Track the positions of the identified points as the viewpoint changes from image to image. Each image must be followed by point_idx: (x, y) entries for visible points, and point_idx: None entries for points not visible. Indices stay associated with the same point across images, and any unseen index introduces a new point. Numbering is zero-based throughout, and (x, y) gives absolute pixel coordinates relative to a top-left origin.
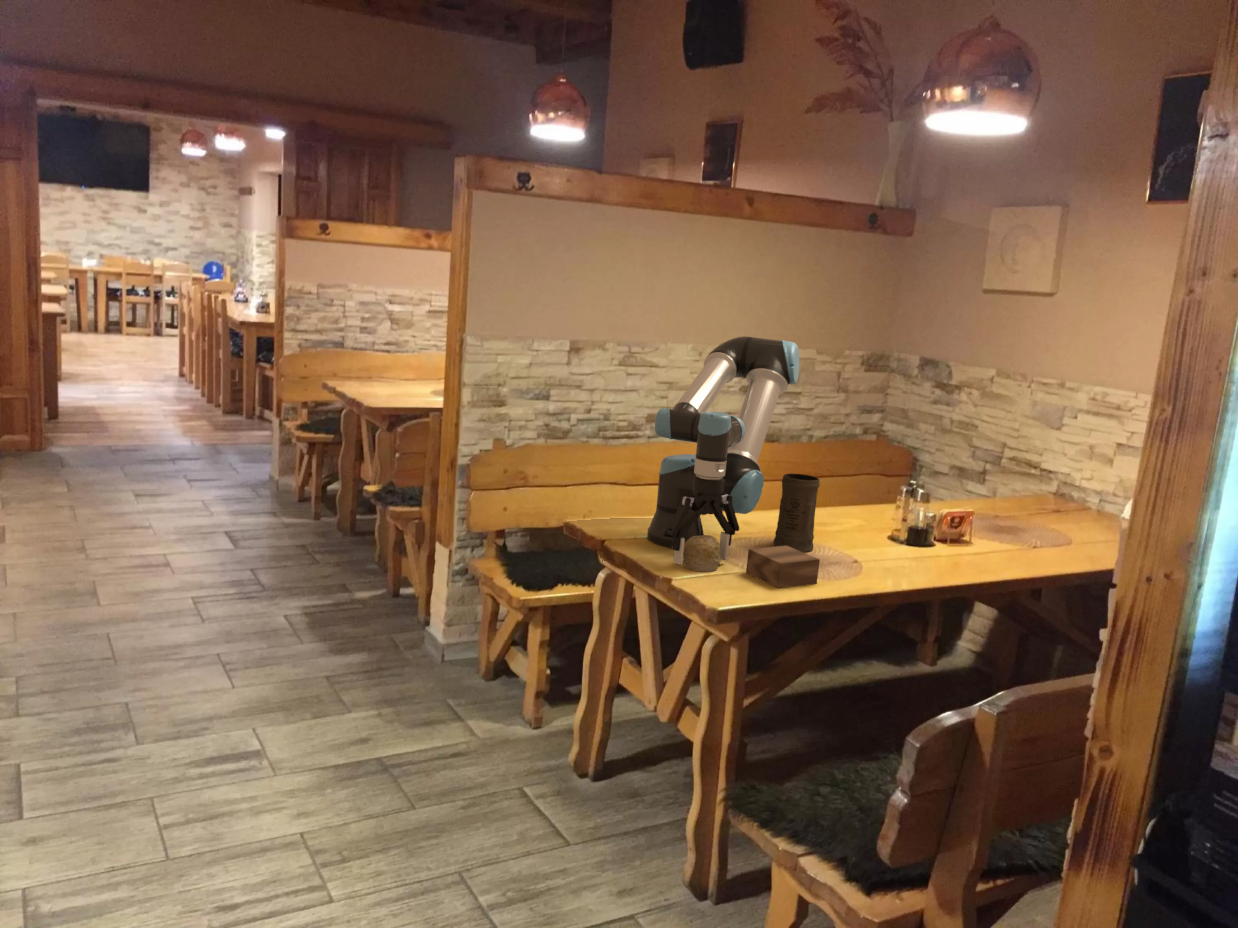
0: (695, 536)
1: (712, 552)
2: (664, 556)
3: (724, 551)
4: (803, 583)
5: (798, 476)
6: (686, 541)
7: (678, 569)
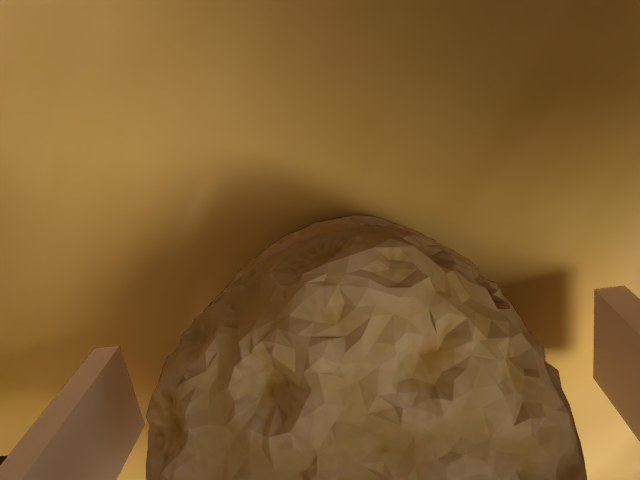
0: (305, 439)
1: None
2: (135, 29)
3: (632, 414)
4: None
5: None
6: (180, 407)
7: (138, 385)
